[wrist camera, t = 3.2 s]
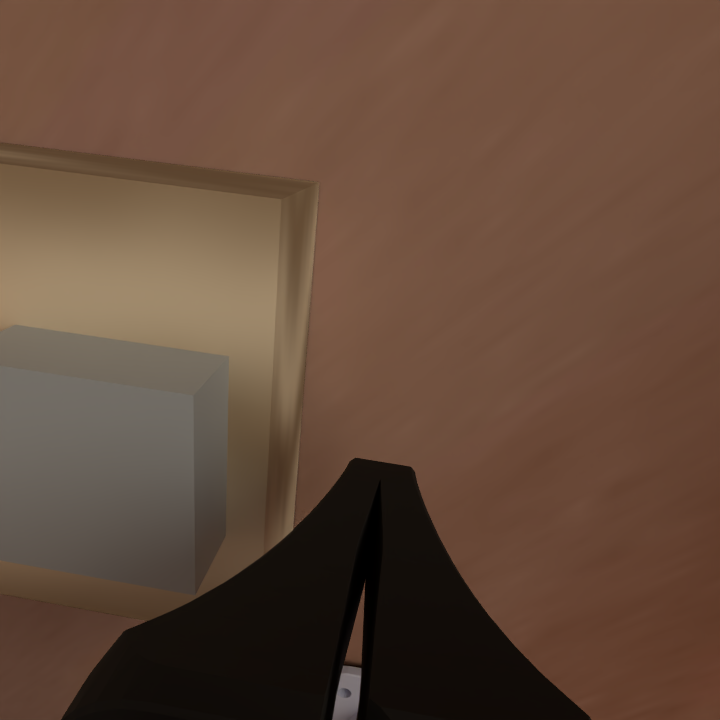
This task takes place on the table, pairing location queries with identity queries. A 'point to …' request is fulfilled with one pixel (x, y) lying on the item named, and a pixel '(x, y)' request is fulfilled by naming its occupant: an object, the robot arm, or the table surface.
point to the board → (171, 318)
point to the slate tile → (112, 457)
